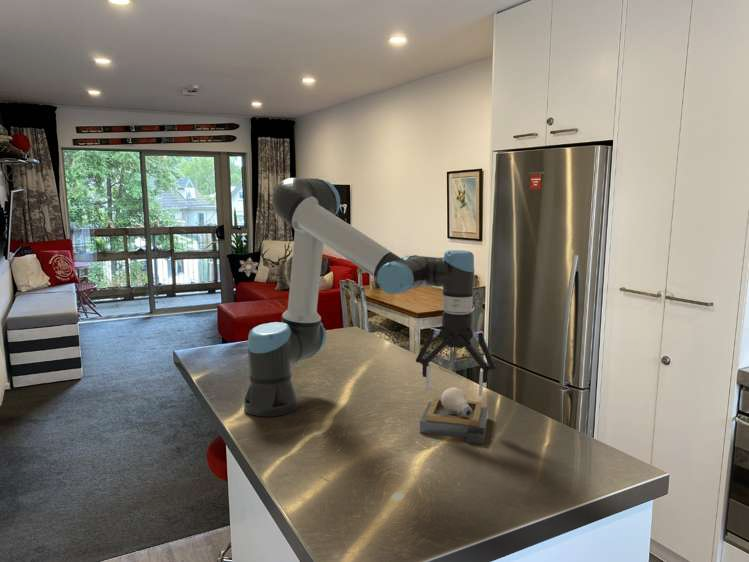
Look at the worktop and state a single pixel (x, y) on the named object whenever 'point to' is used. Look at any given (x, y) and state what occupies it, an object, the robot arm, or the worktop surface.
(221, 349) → the worktop surface
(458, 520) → the worktop surface
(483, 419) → the grey brown-rimmed square tray
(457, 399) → the light bulb
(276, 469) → the worktop surface
